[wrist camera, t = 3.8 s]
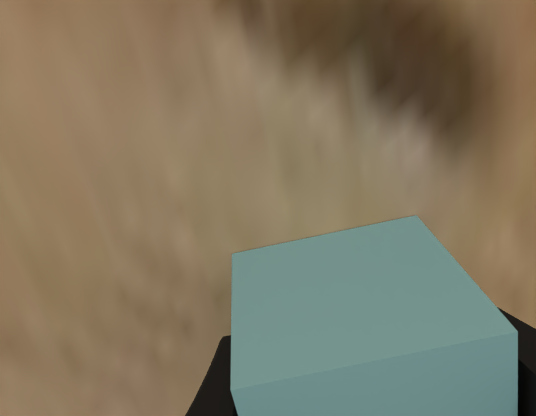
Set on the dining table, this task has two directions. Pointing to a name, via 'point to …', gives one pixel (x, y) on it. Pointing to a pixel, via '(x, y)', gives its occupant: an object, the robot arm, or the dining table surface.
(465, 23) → the dining table surface
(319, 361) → the teal cube
